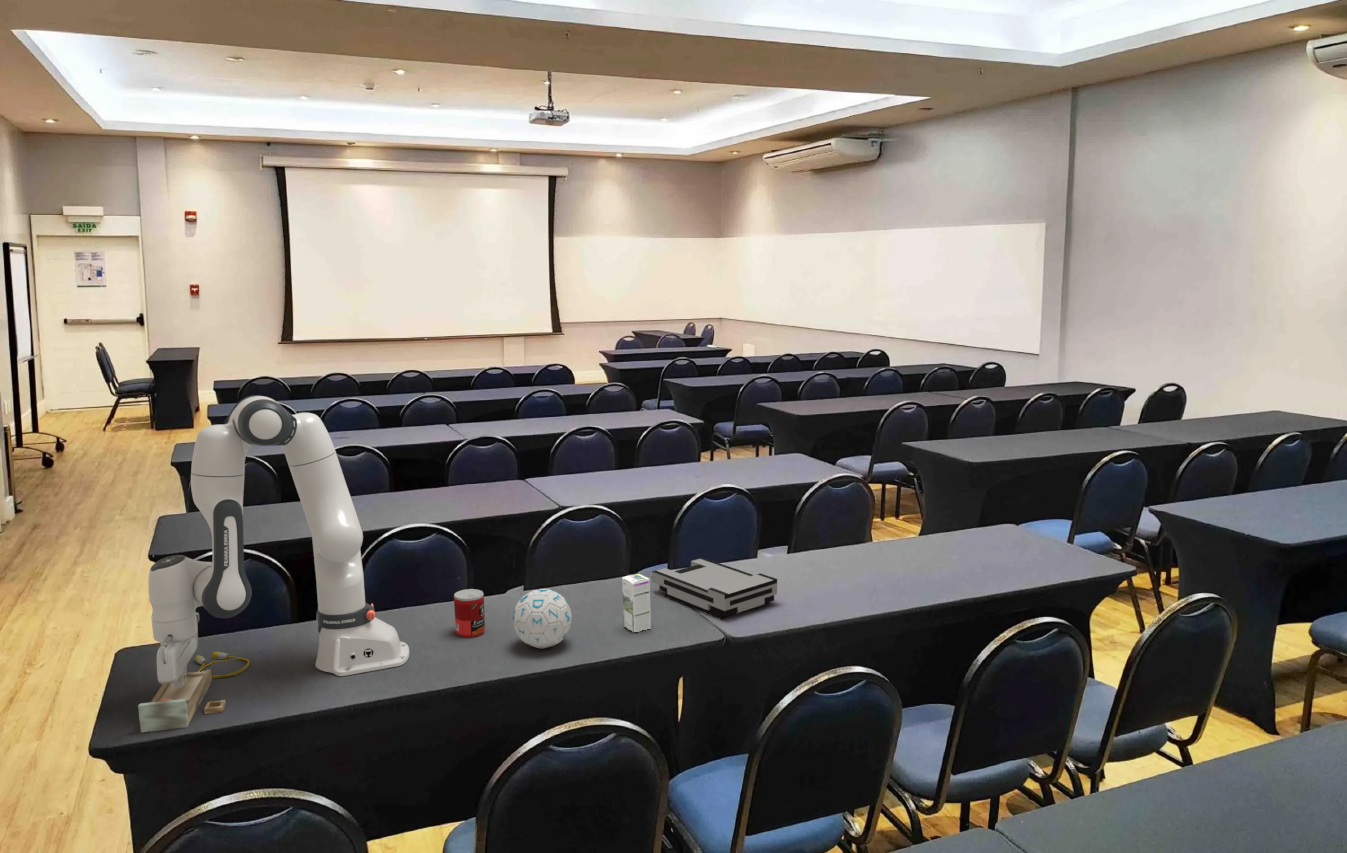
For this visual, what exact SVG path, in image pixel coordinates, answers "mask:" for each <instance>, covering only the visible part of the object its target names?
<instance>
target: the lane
mask: <svg viewBox="0 0 1347 853" xmlns="http://www.w3.org/2000/svg"><path fill="white" fill-rule="evenodd" d="M212 674H213V673H212V669H210V668H209V669H206V670H202V671H201V672H198V671H192V672H186V682H185V684H184V686H183V687H182V688H175V685H174V683H166V684H161V686H160V687H159V689H158V691H157V692H156V693H155V695H154V697H153V698H152V700H151V701H150V702H143V703H139V704H138V706H137V708H138V716H139V717H138V718H139V719H138V720H139V726H140V727H139V728H140V733H147V732H149V731H150V732H157V731H166V730H174V729H183V728H185V729H186V728H188V727H189V725H190V723H191V721H192V719H193V717H194V716H195V714H196V712H197V710H198V709H199V706H200V705H201V703H202V701H203V699H204V697H205V696H206V694H207V692H208V690H209V688H210V686H211V684H212V683H213V678H212ZM165 698H170V699H173V700H169V701H160V700H162V699H165Z"/></svg>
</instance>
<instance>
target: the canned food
mask: <svg viewBox="0 0 1347 853" xmlns="http://www.w3.org/2000/svg"><path fill="white" fill-rule="evenodd" d="M484 596H485V594H484V592H483V590H480V589H474V588H469V589H466V588H465V589H461V590H459V591H456V592H455V593H454V595H453V603H454V604H453V607H454V623H455V625H454V626H455V632H456V634H457V636H458V637H460V636H461V638H465V637H471V638H476V637H475V636H477V637H479V635H480V636H482V635H483V634H484V633H485V631H486V618H485V616H486V615H485V598H484ZM481 634H482V635H481Z"/></svg>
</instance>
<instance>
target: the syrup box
mask: <svg viewBox="0 0 1347 853" xmlns="http://www.w3.org/2000/svg"><path fill="white" fill-rule="evenodd" d="M621 580H622V584H621V585H622V586H621V588H622V589H621V590H622V617H623V618H622V620H623V621H622V622H623V628H624V627H626V628H627V629H626V628H625V629H626V630H628V631H629V630H631V631H632V632H631V631H630V632H631V633H633V634H635V633H634V632H639V631H642V630H646V631H648V630H647V629H650V630H651V629H652V619H651V617H652V614H651V610H652V608H651V580H650V578H649V577H646V576H644V575H642V574H641V573H633V574H628V575H626V576H622V577H621ZM639 633H640V632H639Z"/></svg>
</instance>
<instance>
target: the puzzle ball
mask: <svg viewBox="0 0 1347 853" xmlns="http://www.w3.org/2000/svg"><path fill="white" fill-rule="evenodd" d="M572 616H573V614H572V610H571V607H570V605H569V602H568V600H567V599H566V598H565V597H564V596H563V595H562V594H560V593H559V592H558V591H555V590H553V589H552V590H551V589H548V588H538V589H535V590H534V589H533V590H531V591H530V592H527V593H526V594H524V595H523V596H522V597H521V598H520V599H519V601H518V602H517V603H516V605H515V608H514V610H513V614H512V624H513V628H514V629H513V630H514V631H515V632H516V635H517V636H518V638H519V639H520V640H521V642H523V643H525V644H527V645H529V646H531V647H534V648H535V649H536V648H537V649H547V648H550V647H554V646H556V645H557V644H560V643H561V642H562V641H563V640H564V639H565V638H566V637H567V635H568V633H569V631H570V628H571V626H572Z"/></svg>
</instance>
